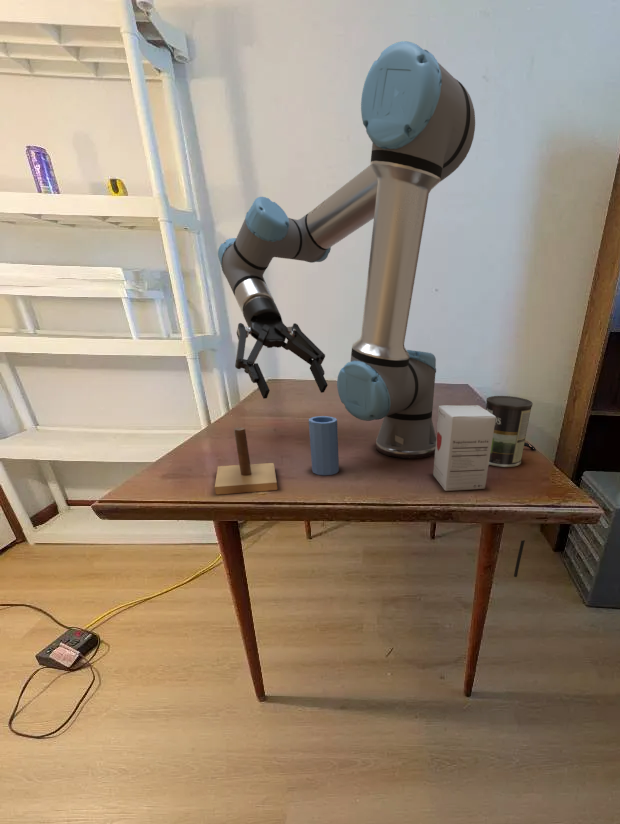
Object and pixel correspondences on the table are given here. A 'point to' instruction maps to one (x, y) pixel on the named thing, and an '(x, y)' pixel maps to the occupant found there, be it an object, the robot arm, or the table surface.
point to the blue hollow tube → (324, 445)
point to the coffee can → (508, 429)
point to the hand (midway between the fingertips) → (296, 391)
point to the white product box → (463, 447)
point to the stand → (244, 472)
